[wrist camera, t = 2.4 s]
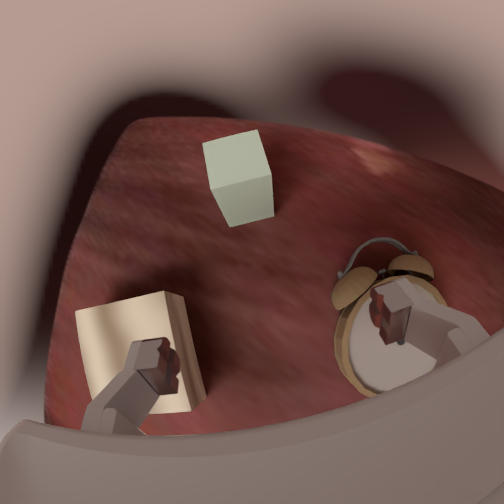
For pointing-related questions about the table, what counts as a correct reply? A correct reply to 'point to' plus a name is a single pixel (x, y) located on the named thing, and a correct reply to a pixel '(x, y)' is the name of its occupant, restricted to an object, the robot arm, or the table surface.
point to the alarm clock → (367, 335)
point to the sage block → (240, 177)
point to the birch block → (133, 329)
